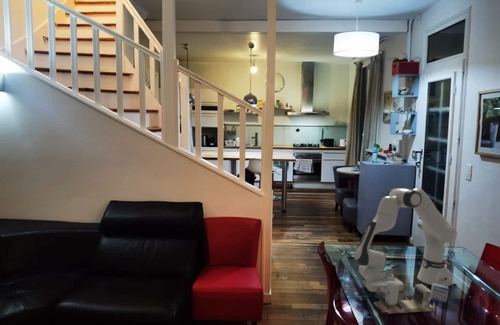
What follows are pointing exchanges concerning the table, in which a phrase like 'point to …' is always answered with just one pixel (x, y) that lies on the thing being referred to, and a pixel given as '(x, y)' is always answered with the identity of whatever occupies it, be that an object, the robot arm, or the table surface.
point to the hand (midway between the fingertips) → (393, 293)
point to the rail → (410, 302)
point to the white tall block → (392, 293)
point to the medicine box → (439, 292)
